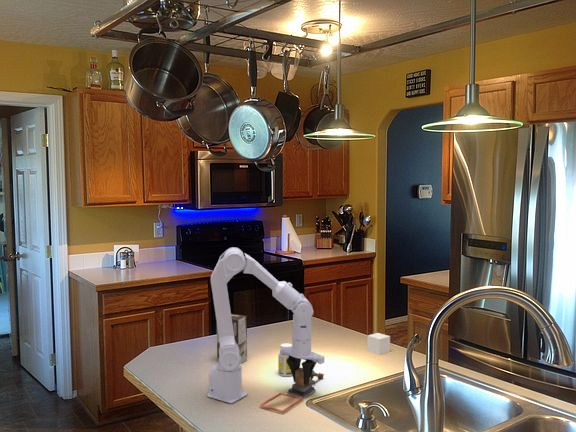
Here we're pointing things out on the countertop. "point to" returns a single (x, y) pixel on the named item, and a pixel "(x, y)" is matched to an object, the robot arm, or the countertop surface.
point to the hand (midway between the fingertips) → (301, 382)
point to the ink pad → (301, 393)
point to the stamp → (300, 381)
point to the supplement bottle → (284, 362)
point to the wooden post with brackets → (319, 375)
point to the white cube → (378, 343)
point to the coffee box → (238, 336)
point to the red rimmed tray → (281, 403)
